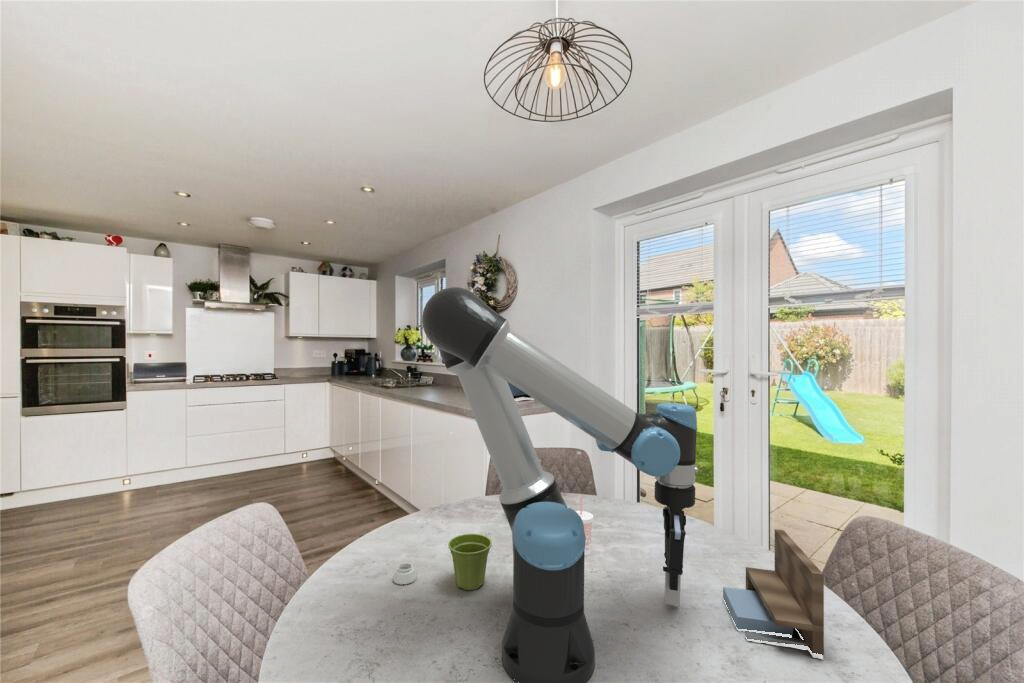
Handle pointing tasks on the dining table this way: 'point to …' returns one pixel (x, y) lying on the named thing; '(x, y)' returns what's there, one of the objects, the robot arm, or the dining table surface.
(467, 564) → the plant pot
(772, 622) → the light blue block
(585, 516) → the beverage cup
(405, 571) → the white jar
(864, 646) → the dining table surface
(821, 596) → the shelf
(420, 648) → the dining table surface
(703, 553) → the dining table surface
